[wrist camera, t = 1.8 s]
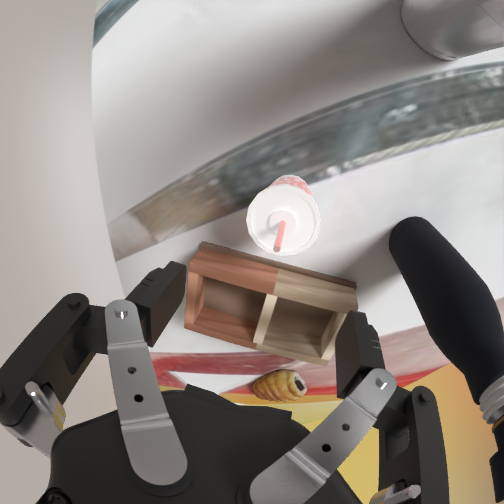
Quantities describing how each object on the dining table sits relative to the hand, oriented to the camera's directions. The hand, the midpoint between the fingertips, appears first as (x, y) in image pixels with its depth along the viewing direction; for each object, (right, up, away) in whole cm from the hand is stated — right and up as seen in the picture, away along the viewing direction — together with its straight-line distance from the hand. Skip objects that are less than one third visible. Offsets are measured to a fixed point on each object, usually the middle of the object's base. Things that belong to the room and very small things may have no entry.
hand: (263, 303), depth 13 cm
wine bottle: (+19, +4, +17) cm, 26 cm away
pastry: (+5, -20, +32) cm, 38 cm away
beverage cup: (+4, +9, +18) cm, 20 cm away
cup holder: (+2, -4, +24) cm, 24 cm away
